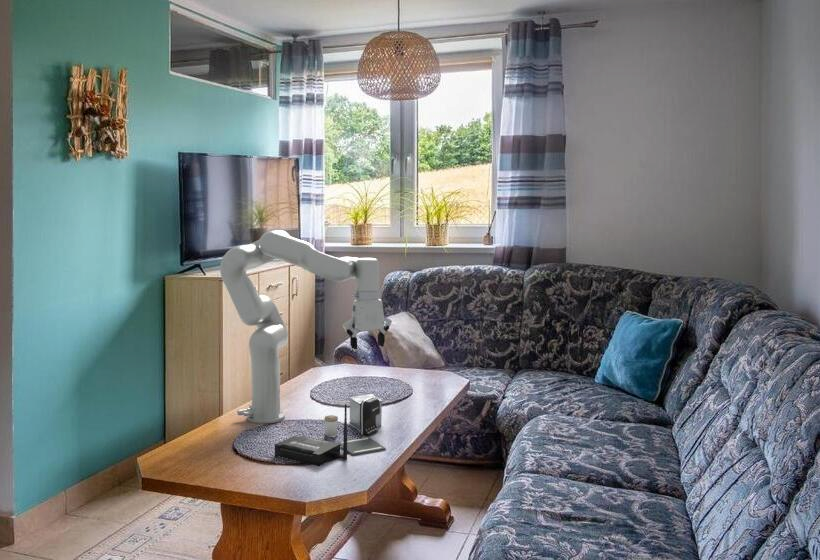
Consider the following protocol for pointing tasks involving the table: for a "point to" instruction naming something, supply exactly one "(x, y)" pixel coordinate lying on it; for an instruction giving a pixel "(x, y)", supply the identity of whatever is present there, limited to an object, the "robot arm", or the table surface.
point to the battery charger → (369, 416)
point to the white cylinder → (331, 425)
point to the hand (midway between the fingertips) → (367, 347)
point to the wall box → (355, 409)
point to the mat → (362, 446)
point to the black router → (312, 448)
